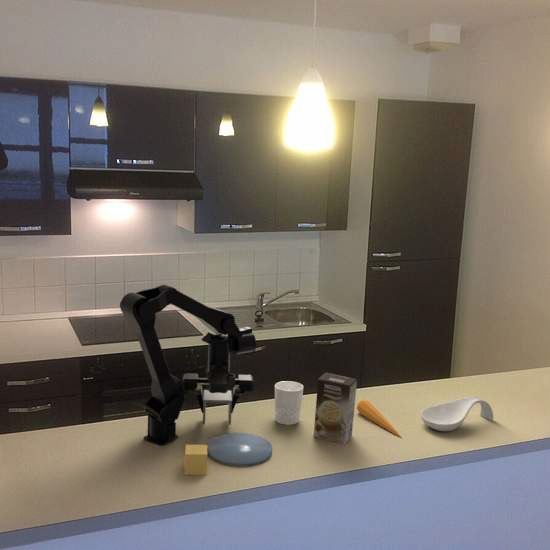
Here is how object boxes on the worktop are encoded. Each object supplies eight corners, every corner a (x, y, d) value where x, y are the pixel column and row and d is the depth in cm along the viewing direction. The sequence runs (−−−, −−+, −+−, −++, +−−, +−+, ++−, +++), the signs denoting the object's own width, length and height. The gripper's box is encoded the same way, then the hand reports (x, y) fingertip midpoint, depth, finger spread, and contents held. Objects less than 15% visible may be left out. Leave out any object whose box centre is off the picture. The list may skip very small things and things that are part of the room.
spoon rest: (439, 439, 181) (442, 414, 180) (410, 423, 191) (412, 399, 190) (502, 425, 193) (505, 401, 191) (471, 410, 203) (474, 388, 201)
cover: (203, 413, 186) (204, 389, 185) (230, 413, 186) (231, 390, 185) (202, 424, 179) (203, 399, 177) (230, 424, 179) (231, 400, 178)
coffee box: (312, 436, 178) (316, 378, 175) (321, 428, 184) (324, 371, 181) (345, 444, 174) (349, 385, 171) (353, 435, 180) (357, 378, 177)
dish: (194, 454, 165) (194, 449, 164) (230, 432, 178) (231, 427, 178) (249, 472, 157) (249, 467, 157) (283, 448, 170) (284, 443, 170)
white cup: (298, 427, 183) (300, 392, 182) (270, 423, 185) (272, 389, 183) (303, 416, 191) (305, 382, 189) (276, 413, 192) (277, 379, 191)
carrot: (356, 414, 197) (353, 402, 195) (368, 407, 198) (365, 394, 196) (397, 449, 180) (394, 435, 178) (410, 440, 181) (407, 427, 179)
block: (185, 464, 159) (185, 444, 158) (206, 464, 160) (207, 444, 159) (184, 474, 154) (185, 454, 153) (206, 474, 155) (207, 454, 154)
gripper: (181, 365, 171) (180, 424, 173) (255, 367, 172) (253, 425, 175) (184, 352, 182) (182, 407, 184) (253, 354, 183) (251, 408, 186)
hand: (216, 412), depth 182 cm, fingers closed on cover, 7 cm apart
